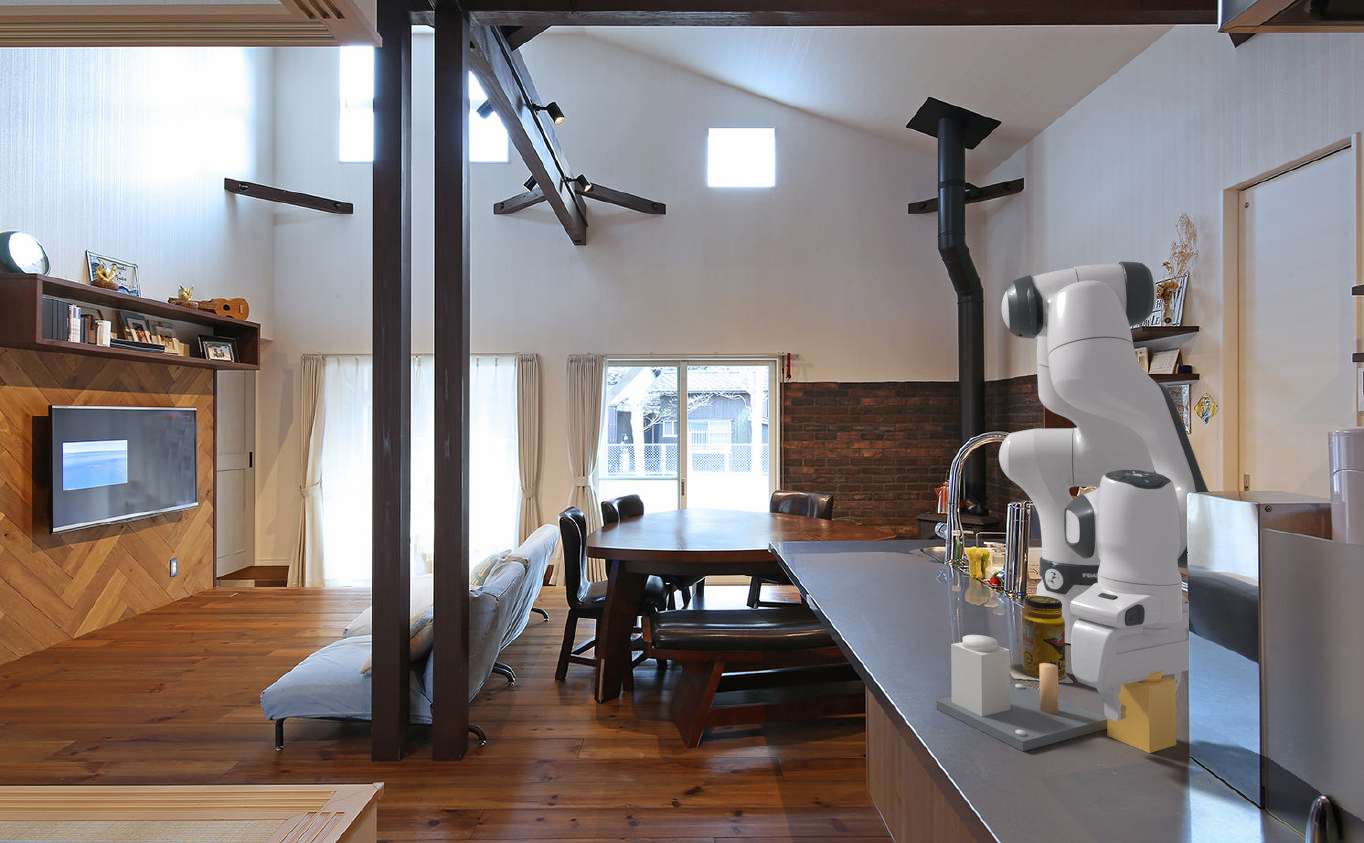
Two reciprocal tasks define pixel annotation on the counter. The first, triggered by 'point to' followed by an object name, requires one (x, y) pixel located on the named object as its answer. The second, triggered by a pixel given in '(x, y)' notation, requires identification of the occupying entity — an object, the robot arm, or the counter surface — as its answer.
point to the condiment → (1042, 638)
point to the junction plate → (1011, 699)
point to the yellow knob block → (1147, 714)
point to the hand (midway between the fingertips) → (1140, 712)
